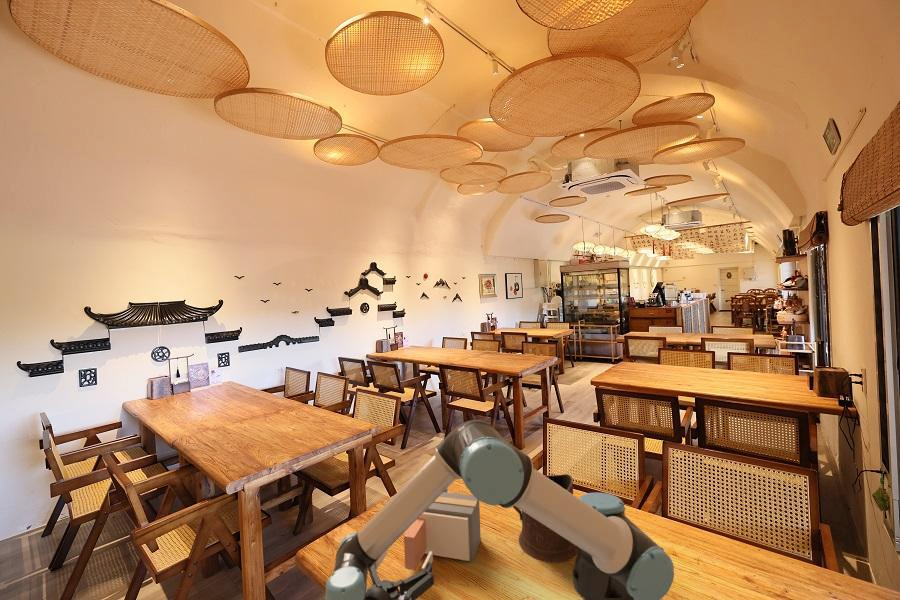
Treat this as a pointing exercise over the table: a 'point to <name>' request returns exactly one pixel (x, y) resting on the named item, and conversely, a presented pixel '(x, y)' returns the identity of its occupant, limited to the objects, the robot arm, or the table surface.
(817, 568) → the table surface
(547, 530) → the brown pitcher
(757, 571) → the table surface
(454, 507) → the carton
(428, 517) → the door
